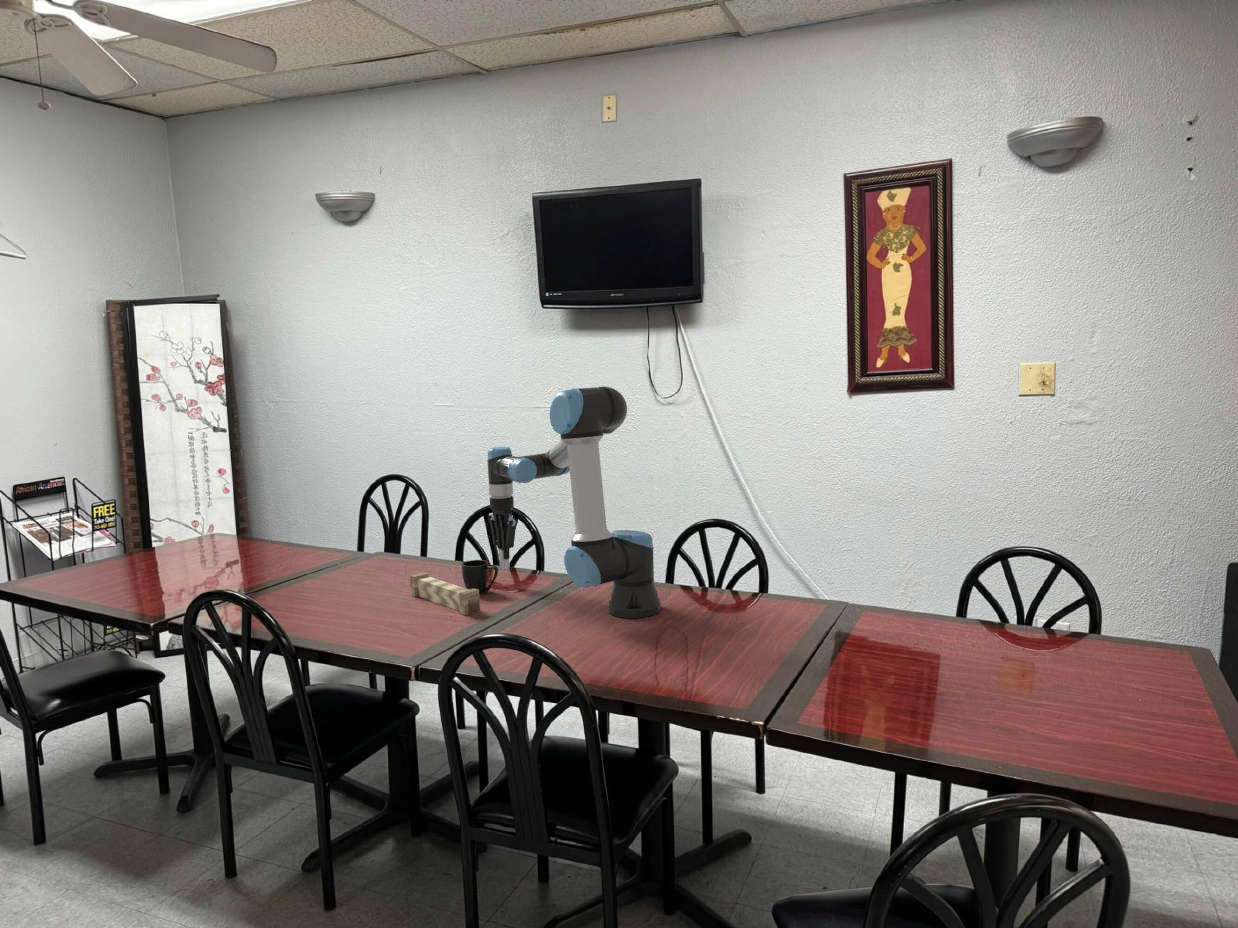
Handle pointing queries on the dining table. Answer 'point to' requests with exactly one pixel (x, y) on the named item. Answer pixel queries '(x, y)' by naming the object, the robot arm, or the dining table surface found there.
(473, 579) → the mug
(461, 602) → the batten
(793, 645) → the dining table surface
